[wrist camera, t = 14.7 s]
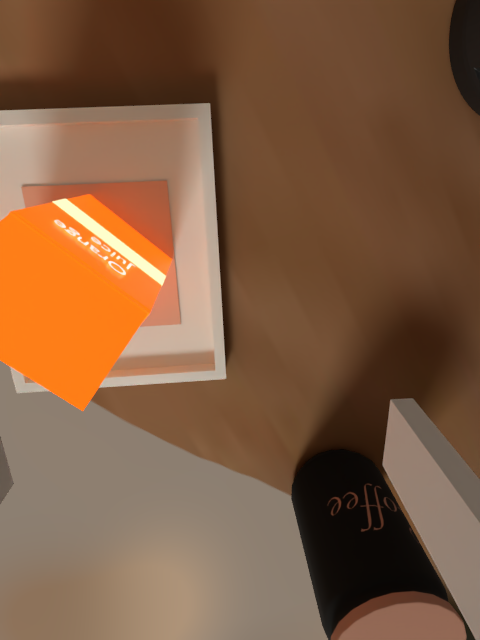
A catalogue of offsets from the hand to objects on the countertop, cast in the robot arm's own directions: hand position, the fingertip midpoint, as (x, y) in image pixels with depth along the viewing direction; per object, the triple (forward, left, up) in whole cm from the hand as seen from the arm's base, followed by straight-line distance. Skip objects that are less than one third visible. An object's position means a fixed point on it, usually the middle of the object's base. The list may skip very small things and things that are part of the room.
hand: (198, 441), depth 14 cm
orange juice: (-1, -9, -25) cm, 27 cm away
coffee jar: (+27, +13, -26) cm, 40 cm away
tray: (-1, -9, -26) cm, 27 cm away
